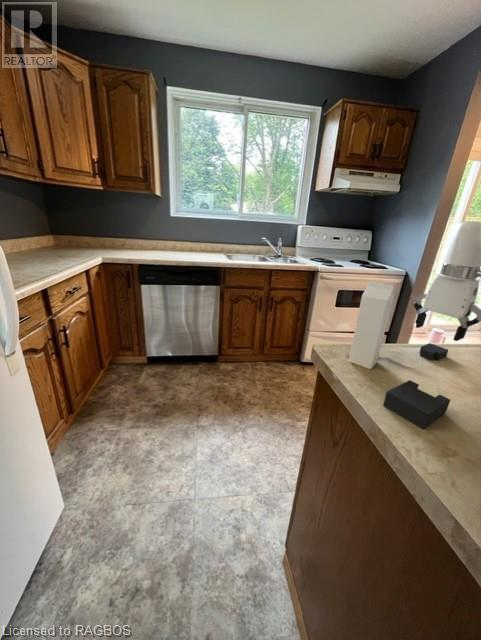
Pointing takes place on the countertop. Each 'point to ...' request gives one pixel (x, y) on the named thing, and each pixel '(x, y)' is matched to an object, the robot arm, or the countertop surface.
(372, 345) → the milk
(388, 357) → the countertop surface
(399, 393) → the black notched block
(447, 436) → the countertop surface
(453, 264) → the robot arm
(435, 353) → the black rectangular block
